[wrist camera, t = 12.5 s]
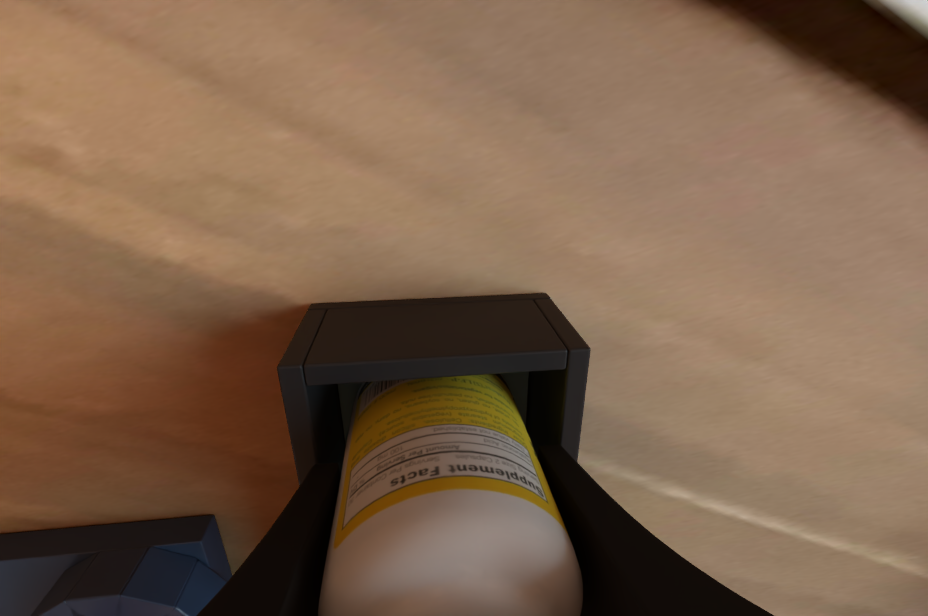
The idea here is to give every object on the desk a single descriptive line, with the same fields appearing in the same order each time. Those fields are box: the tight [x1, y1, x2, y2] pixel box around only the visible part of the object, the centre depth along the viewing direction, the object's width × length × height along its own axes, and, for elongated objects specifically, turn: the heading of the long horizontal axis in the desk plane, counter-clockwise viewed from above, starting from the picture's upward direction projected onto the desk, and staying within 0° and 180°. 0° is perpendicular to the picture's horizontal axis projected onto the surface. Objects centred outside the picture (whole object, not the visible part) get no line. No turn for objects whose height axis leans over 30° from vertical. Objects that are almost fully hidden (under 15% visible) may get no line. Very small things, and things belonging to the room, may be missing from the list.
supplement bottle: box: [318, 373, 583, 616], centre depth 11 cm, size 5×5×10 cm
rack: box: [277, 293, 590, 486], centre depth 16 cm, size 8×15×4 cm, turn 0°
